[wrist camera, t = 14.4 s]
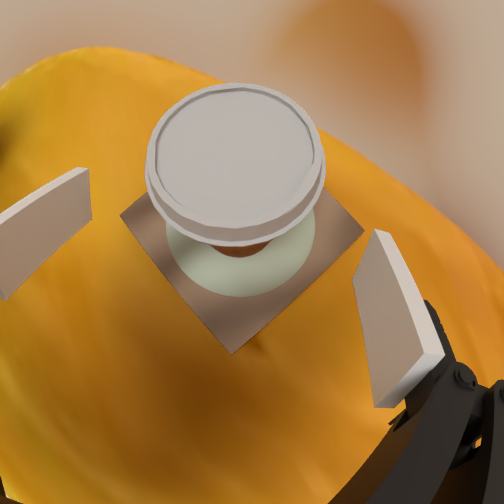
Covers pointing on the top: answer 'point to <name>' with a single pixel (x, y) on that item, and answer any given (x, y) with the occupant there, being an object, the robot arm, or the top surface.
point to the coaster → (244, 266)
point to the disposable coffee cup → (235, 166)
